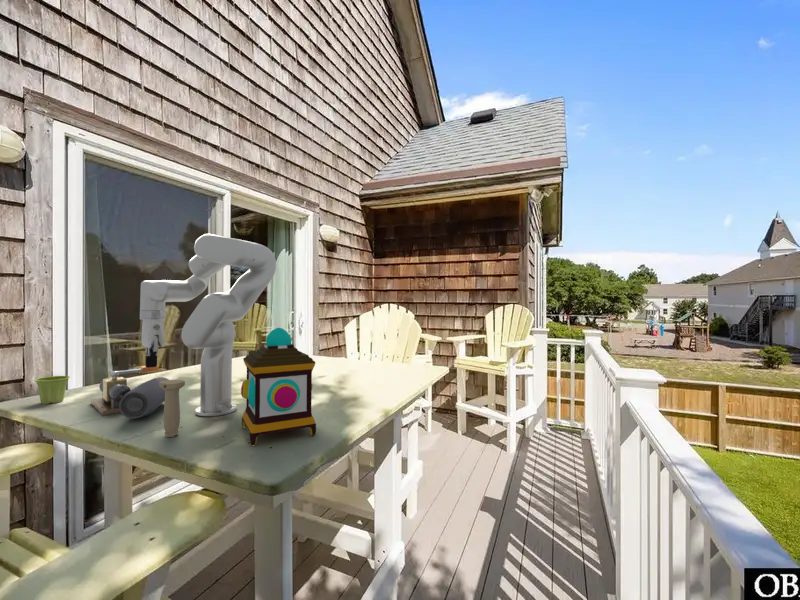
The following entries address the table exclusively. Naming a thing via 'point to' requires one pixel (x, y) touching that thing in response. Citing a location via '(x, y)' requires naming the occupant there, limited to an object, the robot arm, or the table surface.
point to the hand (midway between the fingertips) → (151, 366)
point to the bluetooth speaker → (143, 399)
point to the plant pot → (52, 388)
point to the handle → (171, 406)
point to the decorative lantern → (277, 388)
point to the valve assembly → (111, 395)
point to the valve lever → (134, 370)
